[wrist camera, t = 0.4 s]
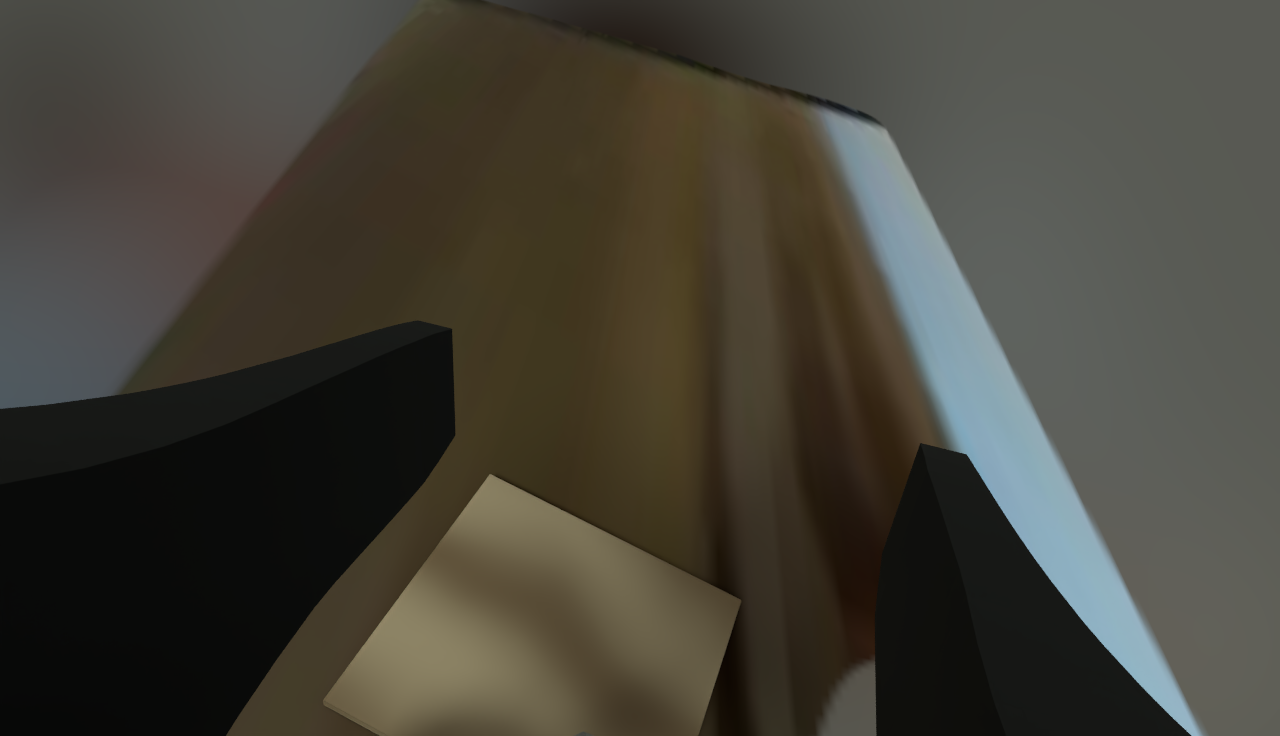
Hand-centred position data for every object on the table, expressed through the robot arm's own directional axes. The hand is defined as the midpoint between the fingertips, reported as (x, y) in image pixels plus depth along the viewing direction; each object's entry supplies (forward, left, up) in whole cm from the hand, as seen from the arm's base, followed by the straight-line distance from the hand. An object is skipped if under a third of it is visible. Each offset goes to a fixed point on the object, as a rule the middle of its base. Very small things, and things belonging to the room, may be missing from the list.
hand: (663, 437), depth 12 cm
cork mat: (+6, +1, -19) cm, 20 cm away
